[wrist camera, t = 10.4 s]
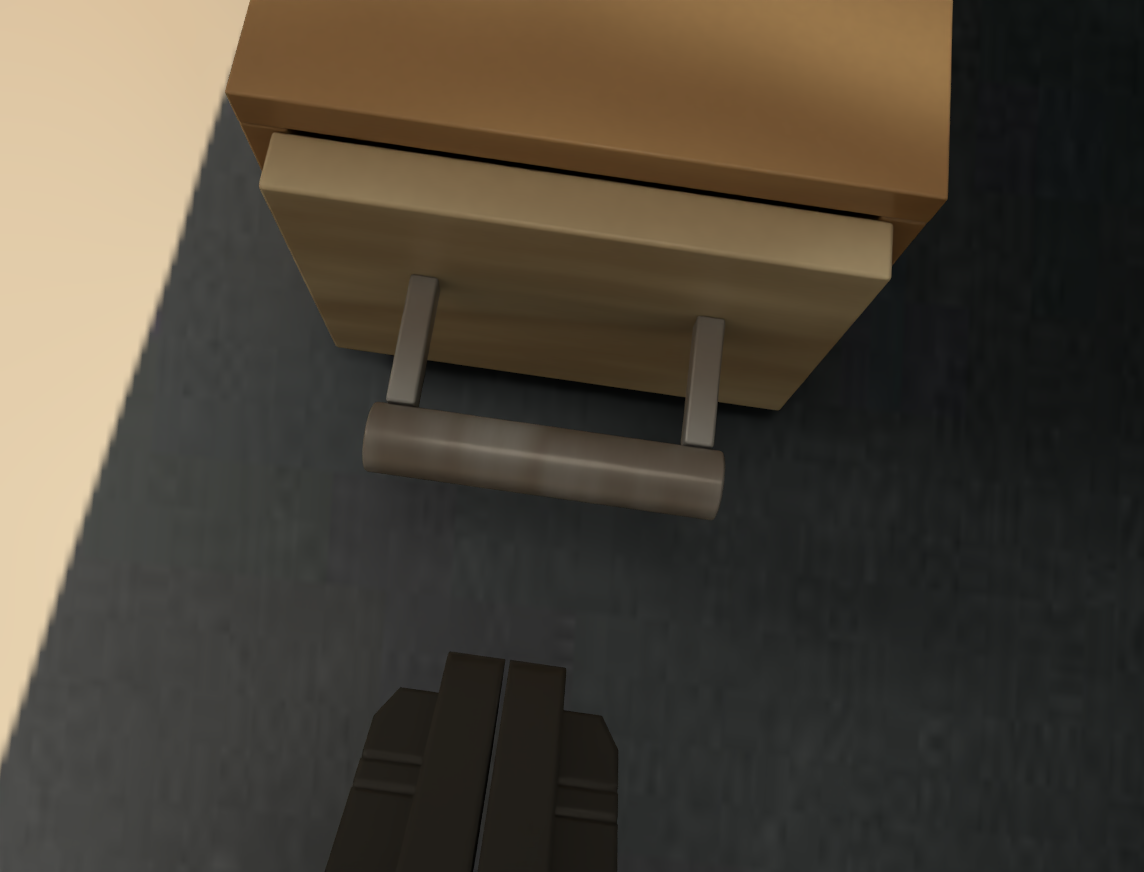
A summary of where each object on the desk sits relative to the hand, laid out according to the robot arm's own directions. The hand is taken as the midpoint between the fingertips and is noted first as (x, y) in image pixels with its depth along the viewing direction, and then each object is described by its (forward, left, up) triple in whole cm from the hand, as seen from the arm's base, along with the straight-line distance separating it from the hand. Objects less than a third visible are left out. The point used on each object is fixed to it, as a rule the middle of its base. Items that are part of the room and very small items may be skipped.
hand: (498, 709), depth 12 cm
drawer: (+2, +13, -11) cm, 17 cm away
